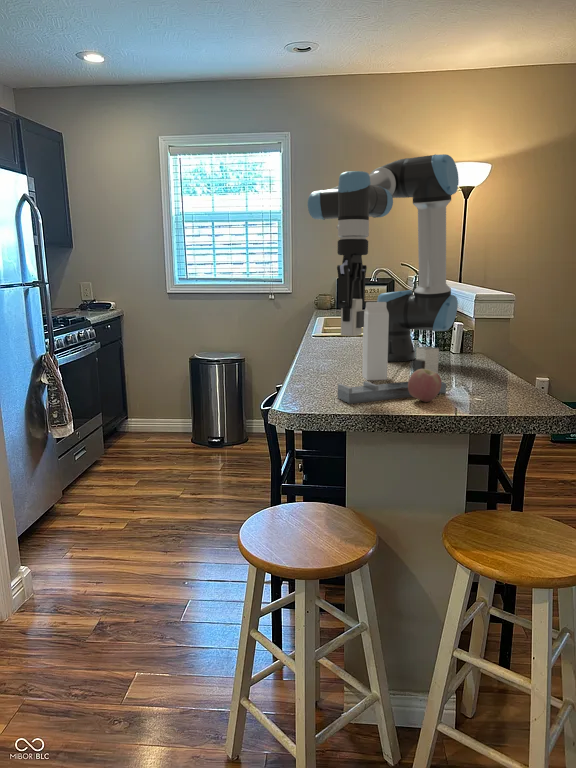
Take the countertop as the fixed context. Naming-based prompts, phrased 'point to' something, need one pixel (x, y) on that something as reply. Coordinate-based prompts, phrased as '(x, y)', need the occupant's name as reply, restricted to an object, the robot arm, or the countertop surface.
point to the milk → (375, 341)
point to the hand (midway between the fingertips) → (351, 333)
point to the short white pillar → (356, 317)
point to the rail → (372, 392)
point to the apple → (424, 384)
